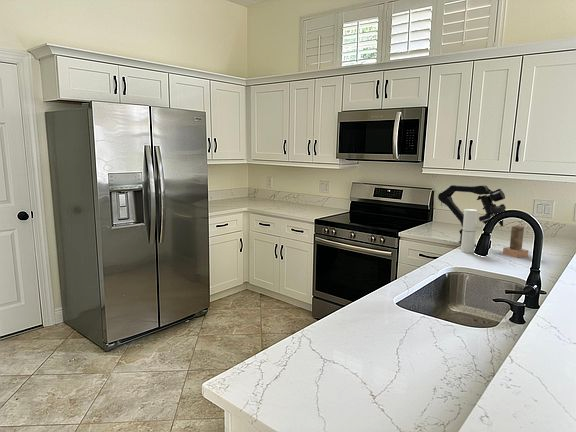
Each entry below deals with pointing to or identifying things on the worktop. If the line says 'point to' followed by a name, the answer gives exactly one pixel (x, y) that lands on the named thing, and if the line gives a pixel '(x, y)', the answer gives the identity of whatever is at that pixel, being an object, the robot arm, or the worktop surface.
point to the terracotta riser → (515, 252)
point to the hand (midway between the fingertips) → (497, 228)
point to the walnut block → (516, 237)
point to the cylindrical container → (469, 230)
